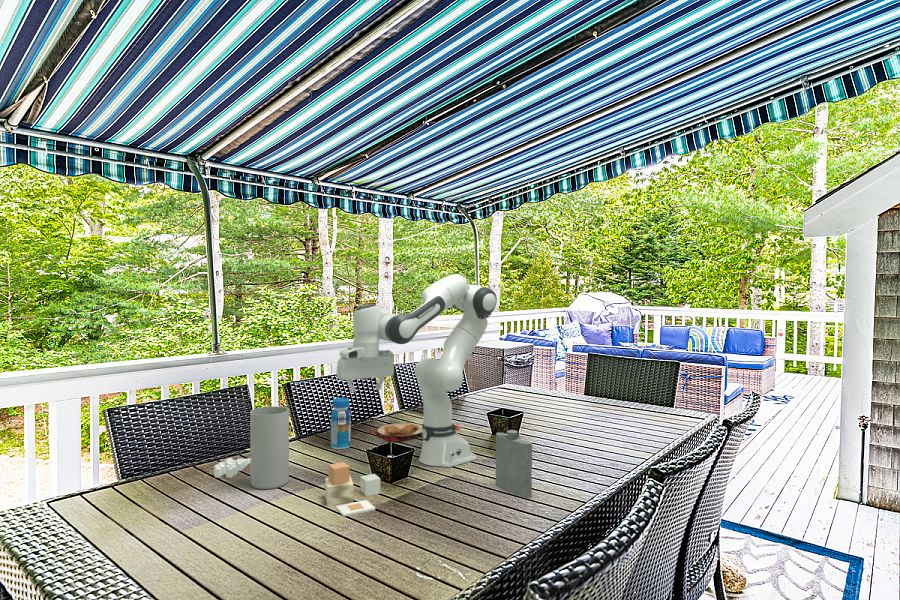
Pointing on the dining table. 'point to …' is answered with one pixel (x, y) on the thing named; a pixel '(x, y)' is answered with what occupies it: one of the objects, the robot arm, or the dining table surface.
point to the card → (355, 508)
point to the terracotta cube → (338, 473)
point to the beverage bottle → (340, 424)
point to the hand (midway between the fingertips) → (365, 390)
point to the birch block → (338, 492)
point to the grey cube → (370, 485)
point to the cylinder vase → (269, 447)
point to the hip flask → (514, 464)
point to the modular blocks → (230, 467)
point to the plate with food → (398, 431)
